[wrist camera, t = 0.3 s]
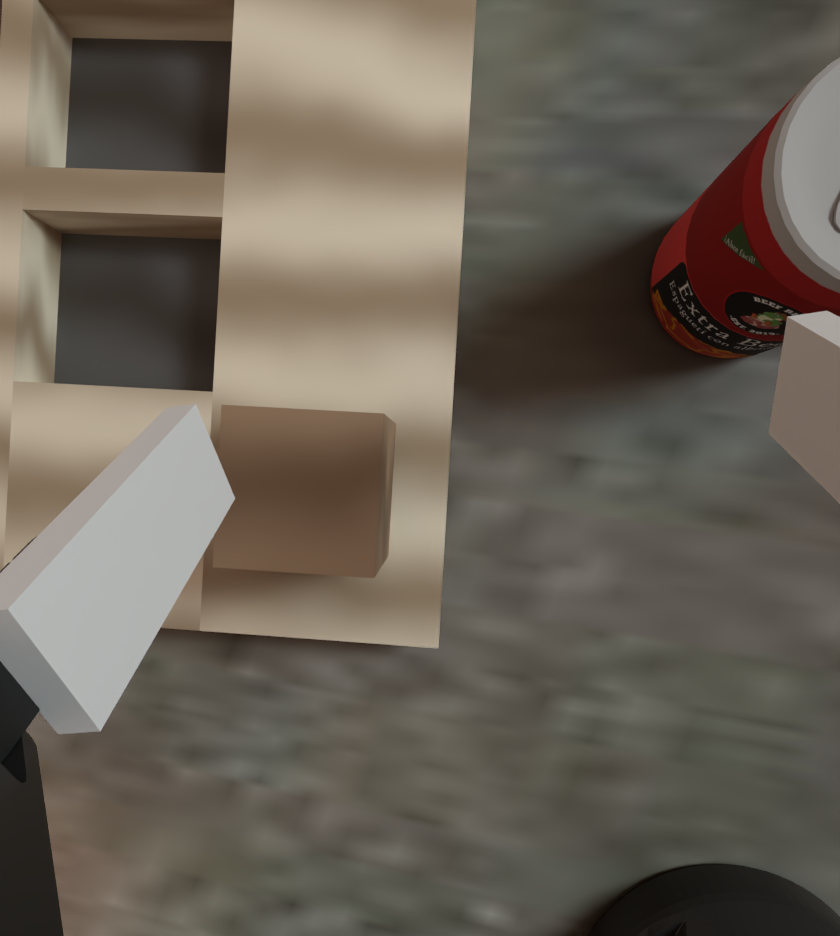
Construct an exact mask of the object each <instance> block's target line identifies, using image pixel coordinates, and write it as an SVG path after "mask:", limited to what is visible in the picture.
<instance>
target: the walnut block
mask: <svg viewBox="0 0 840 936" xmlns="http://www.w3.org/2000/svg"><path fill="white" fill-rule="evenodd" d="M395 433H396V423H395V422H393V421H392V420H391V419H390V418H389V417H387V416H386V415H385V414H384V413H366V412H348V411H329V410H311V409H292V408H274V407H255V406H237V405H221V423H220V441H219V461H220V463H221V465H222V468H223V470H224V473H225V475H226V477H227V480H228V482H229V485H230V487H231V489H232V492H233V494H234V497H235V500H234V502H233V503H232V505H231V507H230V509H229V510H228V512H227V514H226V515H225V517H224V519H223V521H222V522H221V524H220V526H219V528H218V529H217V531H216V533H215V534H214V548H213V566H212V567H215V568H230V569H245V570H260V571H274V572H289V573H304V574H318V575H333V576H348V577H362V578H375V576H376V575H377V573H378V572H379V570H380V568H381V567H382V565H383V564H384V562H385V561H386V559H387V558H388V554H389V537H390V520H391V502H392V485H393V468H394V450H395Z"/></svg>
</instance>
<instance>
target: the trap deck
mask: <svg viewBox="0 0 840 936" xmlns="http://www.w3.org/2000/svg"><path fill="white" fill-rule="evenodd" d="M475 15H476V0H2V16H1V35H0V571H1V570H2V569H3V568H4V567H5V566H6V565H7V564H8V563H10V562H12V561H13V558H14V557H15V556H16V555H17V554H18V553H19V552H20V551H21V550H22V549H23V548H24V547H25V546H26V545H27V544H28V543H29V542H30V541H31V540H32V539H34V538H35V537H37V536H38V535H39V534H40V533H41V532H42V531H43V530H44V529H45V528H46V527H47V526H48V525H49V524H50V523H51V522H52V521H53V520H54V519H55V518H56V517H57V516H58V515H59V514H60V513H61V512H62V511H63V510H64V509H65V508H66V507H67V506H68V505H69V504H70V503H71V502H72V501H73V500H74V499H75V498H76V497H77V496H78V495H79V494H80V493H81V492H82V491H83V490H84V489H85V488H86V487H87V486H88V485H89V484H90V483H91V482H92V481H93V480H94V479H95V478H96V477H97V476H98V475H99V474H100V473H101V472H102V471H103V470H104V469H105V468H106V467H107V466H108V465H109V464H110V463H111V462H112V461H113V460H114V459H115V458H116V457H117V456H118V455H119V454H120V453H121V452H122V451H123V450H124V449H125V448H127V447H128V446H129V445H130V444H131V443H132V442H133V441H134V440H135V439H136V438H137V437H138V436H139V435H140V434H141V433H142V432H143V431H144V430H145V429H146V428H147V427H148V426H149V425H150V424H151V423H152V422H153V421H154V420H155V419H156V418H157V417H158V416H159V415H160V414H161V413H162V412H163V411H164V410H165V409H166V408H170V407H177V406H184V405H191V404H196V405H197V408H198V410H199V412H200V415H201V417H202V420H203V422H204V424H205V427H206V429H207V432H208V434H209V437H210V439H211V441H212V444H213V446H214V449H215V451H216V453H217V456H218V458H219V441H220V423H221V405H237V406H255V407H274V408H292V409H311V410H329V411H348V412H366V413H384V414H385V415H386V416H387V417H389V418H390V419H391V420H392V421H393V422H395V423H396V433H395V450H394V468H393V485H392V502H391V520H390V537H389V554H388V558H387V559H386V561H385V562H384V564H383V565H382V567H381V568H380V570H379V572H378V573H377V575H376V576H375V578H362V577H348V576H333V575H318V574H304V573H289V572H274V571H260V570H245V569H230V568H215V567H212V566H213V548H214V536H213V538H212V540H211V541H210V543H209V545H208V547H207V548H206V550H205V552H204V553H203V555H202V557H201V559H200V560H199V562H198V564H197V566H196V567H195V569H194V571H193V572H192V574H191V576H190V578H189V579H188V581H187V583H186V585H185V586H184V588H183V590H182V591H181V593H180V595H179V597H178V598H177V600H176V602H175V604H174V605H173V607H172V609H171V610H170V612H169V614H168V616H167V617H166V619H165V621H164V622H163V624H162V626H161V628H169V629H182V630H196V631H209V632H223V633H237V634H250V635H264V636H277V637H291V638H305V639H318V640H332V641H345V642H359V643H373V644H386V645H400V646H413V647H427V648H438V647H439V630H440V613H441V596H442V579H443V562H444V545H445V528H446V511H447V493H448V476H449V459H450V442H451V425H452V408H453V391H454V374H455V357H456V340H457V323H458V306H459V288H460V271H461V254H462V237H463V220H464V203H465V186H466V169H467V152H468V135H469V118H470V101H471V84H472V66H473V49H474V32H475Z"/></svg>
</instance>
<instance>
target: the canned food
mask: <svg viewBox="0 0 840 936" xmlns="http://www.w3.org/2000/svg"><path fill="white" fill-rule="evenodd" d="M650 291H651V299H652V304H653V307H654V310H655V313H656V316H657V318H658V320H659V321H660V323H661V325H662V326H663V328H664V329H665V330H666V332H667V333H668V334H669V335H670V336H671V337H672V338H673V339H674V340H675V341H677V342H678V343H680V344H681V345H682V346H684V347H685V348H687V349H690V350H692V351H694V352H696V353H699V354H703V355H707V356H712V357H717V358H742V357H748V356H753V355H756V354H759V353H761V352H764V351H767V350H770V349H773V348H776V347H779V346H781V345H783V339H784V333H785V327H786V321H787V317H788V316H795V315H801V314H808V313H815V312H822V311H829V312H831V313H833V314H835V315H837V316H839V317H840V58H838V59H837V60H835V61H834V62H832V63H830V64H829V65H828V66H827V67H826V68H825V69H824V70H823V71H821V72H820V73H819V74H817V75H816V76H815V77H814V78H813V79H812V80H810V81H809V82H808V83H807V84H806V85H805V86H804V87H803V88H802V89H801V90H800V91H798V92H797V93H796V94H795V95H794V97H793V98H792V99H791V100H790V101H789V102H788V103H787V104H786V105H785V106H784V107H783V108H782V109H781V110H780V111H779V112H778V113H777V114H776V115H775V116H774V117H773V118H772V119H771V120H770V121H769V122H768V123H767V124H766V126H765V127H764V128H763V129H762V130H761V131H760V132H759V133H758V134H757V135H756V136H755V137H754V138H753V140H752V141H751V142H750V143H749V144H748V145H747V146H746V147H745V148H744V149H743V150H742V151H741V152H740V154H739V155H738V156H737V157H736V158H735V159H734V160H733V161H732V162H731V163H730V164H729V165H728V167H727V168H726V169H725V170H724V171H723V172H722V173H721V174H720V175H719V176H718V177H717V178H716V179H715V181H714V182H713V183H712V184H711V185H710V186H709V187H708V188H707V189H706V190H705V191H704V192H703V194H702V195H701V196H700V197H699V198H698V199H697V200H696V201H695V202H694V203H693V204H692V205H691V206H690V208H689V209H688V210H687V211H686V212H685V213H684V214H683V215H682V216H681V217H680V218H679V219H678V220H677V222H676V223H675V224H674V225H673V226H672V228H671V229H670V230H669V232H668V233H667V234H666V236H665V237H664V239H663V241H662V243H661V245H660V247H659V249H658V251H657V253H656V257H655V261H654V264H653V268H652V273H651V285H650Z"/></svg>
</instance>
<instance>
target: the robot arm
mask: <svg viewBox="0 0 840 936" xmlns="http://www.w3.org/2000/svg"><path fill="white" fill-rule="evenodd" d="M769 434H770V435H771V436H772V437H773V438H774V439H775V440H776V441H777V442H778V443H779V444H780V445H781V446H782V447H783V448H784V449H785V450H786V451H787V452H788V453H789V454H790V455H791V456H792V457H793V458H794V459H795V460H796V461H797V462H798V463H799V464H800V465H801V466H802V467H803V468H804V469H805V470H806V471H807V472H808V473H809V474H810V475H811V476H812V477H813V478H814V479H815V480H816V481H817V482H818V483H819V484H820V485H821V486H822V487H823V488H824V489H825V490H826V491H827V492H828V493H829V494H830V495H832V496H833V497H834V498H835V499H836V500H837V501H838V502H839V503H840V317H839V316H837V315H835V314H833V313H831V312H829V311H822V312H815V313H808V314H801V315H795V316H788V317H787V321H786V327H785V333H784V339H783V346H782V352H781V358H780V364H779V371H778V377H777V383H776V389H775V395H774V402H773V408H772V414H771V420H770V427H769ZM234 500H235V497H234V494H233V492H232V489H231V487H230V485H229V482H228V480H227V477H226V475H225V473H224V470H223V468H222V465H221V463H220V461H219V458H218V456H217V453H216V451H215V449H214V446H213V444H212V441H211V439H210V437H209V434H208V432H207V429H206V427H205V424H204V422H203V420H202V417H201V415H200V412H199V410H198V408H197V405H196V404H191V405H184V406H177V407H170V408H166V409H165V410H164V411H163V412H162V413H161V414H160V415H159V416H158V417H157V418H156V419H155V420H154V421H153V422H152V423H151V424H150V425H149V426H148V427H147V428H146V429H145V430H144V431H143V432H142V433H141V434H140V435H139V436H138V437H137V438H136V439H135V440H134V441H133V442H132V443H131V444H130V445H129V446H128V447H127V448H125V449H124V450H123V451H122V452H121V453H120V454H119V455H118V456H117V457H116V458H115V459H114V460H113V461H112V462H111V463H110V464H109V465H108V466H107V467H106V468H105V469H104V470H103V471H102V472H101V473H100V474H99V475H98V476H97V477H96V478H95V479H94V480H93V481H92V482H91V483H90V484H89V485H88V486H87V487H86V488H85V489H84V490H83V491H82V492H81V493H80V494H79V495H78V496H77V497H76V498H75V499H74V500H73V501H72V502H71V503H70V504H69V505H68V506H67V507H66V508H65V509H64V510H63V511H62V512H61V513H60V514H59V515H58V516H57V517H56V518H55V519H54V520H53V521H52V522H51V523H50V524H49V525H48V526H47V527H46V528H45V529H44V530H43V531H42V532H41V533H40V534H39V535H38V536H37V537H35V538H34V539H32V540H31V541H30V542H29V543H28V544H27V545H26V546H25V547H24V548H23V549H22V550H21V551H20V552H19V553H18V554H17V555H16V556H15V557H14V558H13V561H12V562H10V563H8V564H7V565H6V566H5V567H4V568H3V569H2V570H1V571H0V936H64V935H63V928H62V921H61V914H60V907H59V900H58V893H57V886H56V879H55V872H54V865H53V858H52V851H51V844H50V837H49V830H48V823H47V816H46V809H45V802H44V795H43V788H42V781H41V774H40V767H39V760H38V753H37V746H36V744H35V742H34V741H33V739H32V737H31V736H30V735H29V734H28V733H27V732H26V731H25V730H26V729H27V727H28V726H29V724H30V723H31V722H32V720H33V719H34V717H35V716H36V714H37V713H38V712H40V713H41V714H42V715H43V717H44V718H45V719H46V720H47V722H48V723H49V724H50V725H51V726H52V728H53V729H54V730H55V731H56V732H57V734H68V733H83V732H98V731H101V730H102V728H103V726H104V724H105V723H106V721H107V719H108V717H109V716H110V714H111V712H112V711H113V709H114V707H115V705H116V704H117V702H118V700H119V698H120V697H121V695H122V693H123V692H124V690H125V688H126V686H127V685H128V683H129V681H130V679H131V678H132V676H133V674H134V673H135V671H136V669H137V667H138V666H139V664H140V662H141V660H142V659H143V657H144V655H145V654H146V652H147V650H148V648H149V647H150V645H151V643H152V641H153V640H154V638H155V636H156V635H157V633H158V631H159V629H160V628H161V626H162V624H163V622H164V621H165V619H166V617H167V616H168V614H169V612H170V610H171V609H172V607H173V605H174V604H175V602H176V600H177V598H178V597H179V595H180V593H181V591H182V590H183V588H184V586H185V585H186V583H187V581H188V579H189V578H190V576H191V574H192V572H193V571H194V569H195V567H196V566H197V564H198V562H199V560H200V559H201V557H202V555H203V553H204V552H205V550H206V548H207V547H208V545H209V543H210V541H211V540H212V538H213V536H214V534H215V533H216V531H217V529H218V528H219V526H220V524H221V522H222V521H223V519H224V517H225V515H226V514H227V512H228V510H229V509H230V507H231V505H232V503H233V502H234ZM589 936H840V917H839V916H838V915H837V914H836V913H835V912H834V911H833V910H832V909H831V908H830V907H829V906H828V905H826V904H825V903H824V902H823V901H822V900H820V899H819V898H818V897H816V896H815V895H813V894H812V893H811V892H809V891H807V890H806V889H804V888H803V887H801V886H799V885H797V884H795V883H793V882H791V881H789V880H787V879H785V878H782V877H780V876H778V875H775V874H772V873H769V872H766V871H762V870H759V869H754V868H749V867H744V866H736V865H702V866H694V867H688V868H683V869H679V870H675V871H672V872H669V873H666V874H663V875H661V876H658V877H656V878H653V879H651V880H649V881H648V882H646V883H644V884H642V885H640V886H638V887H637V888H635V889H634V890H632V891H631V892H629V893H628V894H626V895H625V896H624V897H623V898H621V899H620V900H619V901H618V902H617V903H615V904H614V905H613V906H612V907H611V908H610V909H609V910H608V911H607V912H606V913H605V915H604V916H603V917H602V918H601V919H600V920H599V922H598V923H597V924H596V926H595V927H594V928H593V930H592V932H591V933H590V935H589Z"/></svg>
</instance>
